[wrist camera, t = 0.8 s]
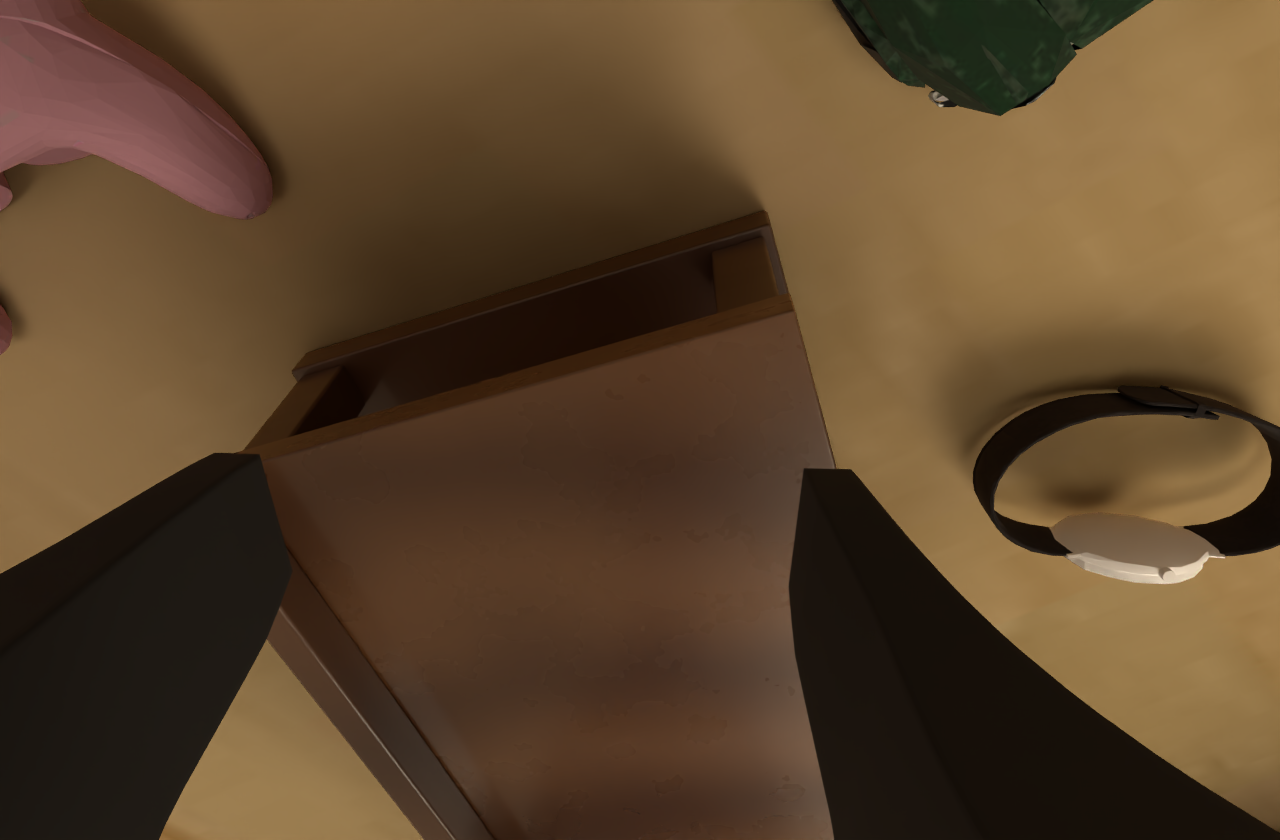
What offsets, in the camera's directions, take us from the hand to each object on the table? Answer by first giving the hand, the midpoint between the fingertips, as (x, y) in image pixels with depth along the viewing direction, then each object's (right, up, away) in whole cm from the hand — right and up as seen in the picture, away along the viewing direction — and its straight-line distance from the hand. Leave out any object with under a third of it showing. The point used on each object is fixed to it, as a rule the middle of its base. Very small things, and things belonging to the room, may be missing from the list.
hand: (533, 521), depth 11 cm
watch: (+14, +1, +11) cm, 17 cm away
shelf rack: (+1, -2, +13) cm, 13 cm away
